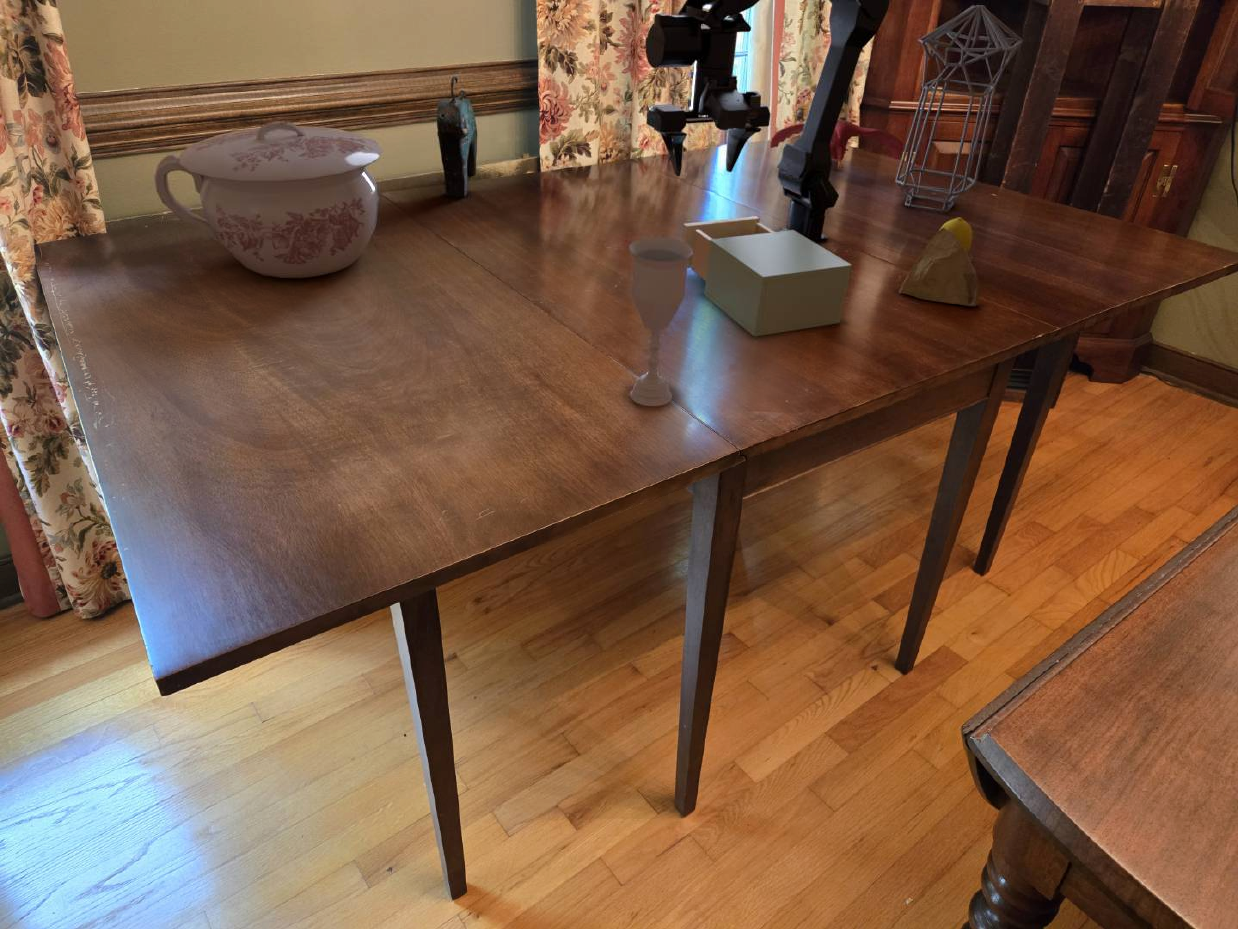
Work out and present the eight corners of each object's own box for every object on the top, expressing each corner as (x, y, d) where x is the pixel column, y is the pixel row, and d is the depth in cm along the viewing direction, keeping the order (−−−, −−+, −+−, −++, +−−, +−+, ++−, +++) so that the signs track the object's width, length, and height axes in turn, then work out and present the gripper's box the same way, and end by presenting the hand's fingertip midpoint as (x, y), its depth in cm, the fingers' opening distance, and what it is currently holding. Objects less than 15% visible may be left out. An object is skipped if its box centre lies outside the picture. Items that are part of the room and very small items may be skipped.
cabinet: (704, 295, 123) (709, 239, 118) (784, 284, 128) (793, 229, 123) (754, 337, 112) (762, 277, 107) (840, 322, 117) (852, 264, 112)
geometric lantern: (978, 203, 166) (1034, 6, 146) (959, 223, 155) (1017, 13, 135) (901, 188, 173) (945, -3, 153) (877, 207, 162) (921, 3, 142)
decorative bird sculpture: (765, 179, 190) (771, 139, 175) (769, 143, 192) (776, 101, 177) (890, 190, 187) (907, 150, 172) (893, 153, 188) (911, 111, 174)
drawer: (666, 255, 133) (669, 213, 129) (736, 247, 138) (741, 206, 134) (720, 299, 120) (726, 254, 116) (796, 288, 124) (803, 244, 120)
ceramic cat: (468, 200, 155) (461, 85, 144) (434, 198, 155) (424, 83, 144) (484, 170, 171) (478, 65, 160) (453, 169, 171) (445, 64, 160)
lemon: (966, 272, 135) (980, 224, 130) (931, 268, 135) (944, 220, 131) (961, 260, 139) (975, 213, 134) (928, 257, 140) (940, 210, 135)
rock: (1001, 289, 123) (952, 258, 129) (997, 252, 116) (945, 221, 123) (945, 337, 124) (899, 304, 130) (937, 303, 117) (889, 270, 123)
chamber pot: (430, 251, 133) (417, 115, 121) (312, 313, 113) (282, 157, 101) (296, 220, 142) (271, 91, 130) (163, 274, 122) (119, 126, 110)
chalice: (620, 380, 101) (626, 236, 90) (675, 379, 101) (687, 237, 91) (625, 411, 95) (632, 261, 84) (683, 411, 95) (698, 261, 85)
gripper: (682, 77, 112) (673, 193, 121) (797, 73, 119) (780, 183, 128) (648, 63, 121) (642, 172, 130) (757, 60, 127) (744, 164, 136)
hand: (703, 173), depth 131 cm, fingers open, 9 cm apart
